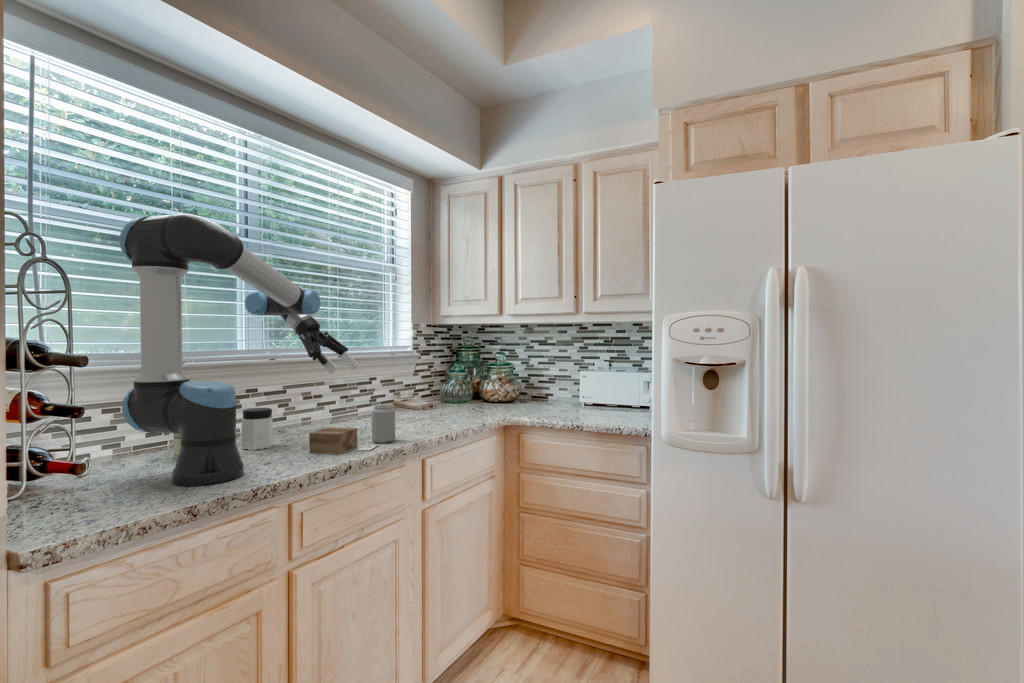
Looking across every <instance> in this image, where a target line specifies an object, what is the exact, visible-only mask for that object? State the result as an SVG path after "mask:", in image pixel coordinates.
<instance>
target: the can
mask: <svg viewBox="0 0 1024 683" xmlns="http://www.w3.org/2000/svg"><path fill="white" fill-rule="evenodd" d="M395 440H396V410H395V408H394V405H393V404H378V405H374V406H373V409H372V410H371V441H372V442H374V444H379V443H384V444H388V443H387V442H391V443H393V442H394V441H395ZM392 441H393V442H392Z"/></svg>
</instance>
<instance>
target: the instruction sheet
mask: <svg viewBox="0 0 1024 683" xmlns="http://www.w3.org/2000/svg"><path fill="white" fill-rule="evenodd" d="M370 445H372V446H378V447H380V444H363V445H362V446H367V447H369V448H371V446H370ZM363 448H364V447H363Z"/></svg>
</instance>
